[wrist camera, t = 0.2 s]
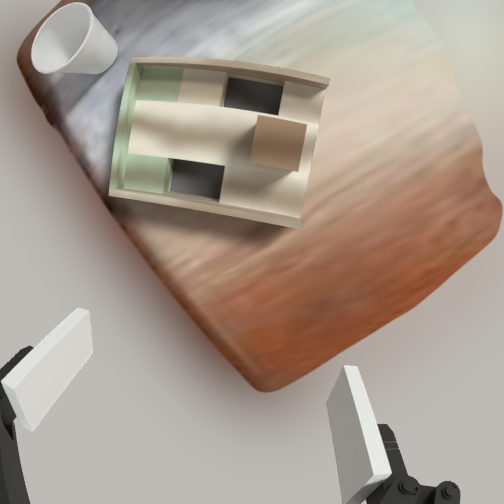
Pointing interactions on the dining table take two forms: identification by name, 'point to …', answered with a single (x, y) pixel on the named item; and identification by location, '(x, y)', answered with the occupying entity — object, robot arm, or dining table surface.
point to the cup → (73, 43)
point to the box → (212, 136)
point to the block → (278, 143)
